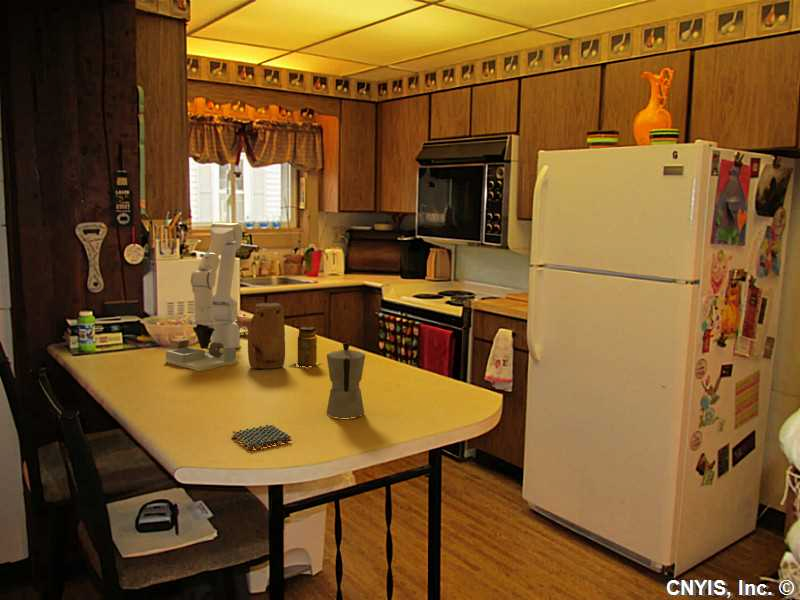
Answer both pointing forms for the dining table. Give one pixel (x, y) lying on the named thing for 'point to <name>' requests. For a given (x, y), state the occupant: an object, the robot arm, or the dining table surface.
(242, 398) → the dining table surface
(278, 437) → the woven mat
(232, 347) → the chassis
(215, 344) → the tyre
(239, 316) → the bull figurine
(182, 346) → the walnut block
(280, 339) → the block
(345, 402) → the coffeepot
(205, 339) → the robot arm
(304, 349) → the condiment
